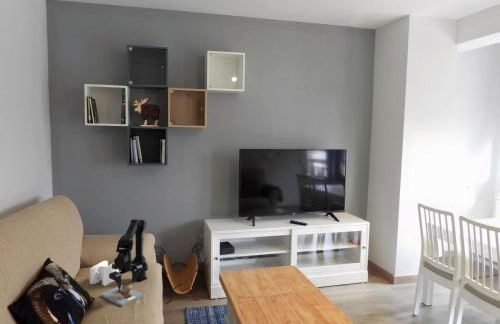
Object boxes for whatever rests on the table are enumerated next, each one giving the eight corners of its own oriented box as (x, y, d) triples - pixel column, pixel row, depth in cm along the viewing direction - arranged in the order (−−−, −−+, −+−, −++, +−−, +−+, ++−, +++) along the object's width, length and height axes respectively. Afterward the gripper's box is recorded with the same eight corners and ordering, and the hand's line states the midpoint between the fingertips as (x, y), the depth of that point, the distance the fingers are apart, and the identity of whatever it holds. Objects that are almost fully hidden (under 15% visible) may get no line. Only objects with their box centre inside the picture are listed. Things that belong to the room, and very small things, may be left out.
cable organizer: (103, 288, 211) (102, 270, 210) (89, 285, 214) (88, 267, 213) (119, 278, 226) (118, 261, 224) (105, 275, 229) (105, 259, 227)
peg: (128, 295, 203) (127, 283, 202) (133, 298, 200) (133, 285, 199) (120, 299, 199) (119, 286, 198) (125, 302, 196) (125, 289, 195)
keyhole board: (101, 296, 202) (101, 293, 202) (121, 287, 213) (121, 284, 213) (122, 306, 191) (122, 304, 190) (143, 296, 202) (143, 294, 202)
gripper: (130, 251, 209) (131, 276, 211) (102, 261, 194) (103, 288, 195) (142, 255, 203) (143, 281, 204) (114, 266, 187) (115, 293, 189)
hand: (126, 285), depth 198 cm, fingers open, 9 cm apart
